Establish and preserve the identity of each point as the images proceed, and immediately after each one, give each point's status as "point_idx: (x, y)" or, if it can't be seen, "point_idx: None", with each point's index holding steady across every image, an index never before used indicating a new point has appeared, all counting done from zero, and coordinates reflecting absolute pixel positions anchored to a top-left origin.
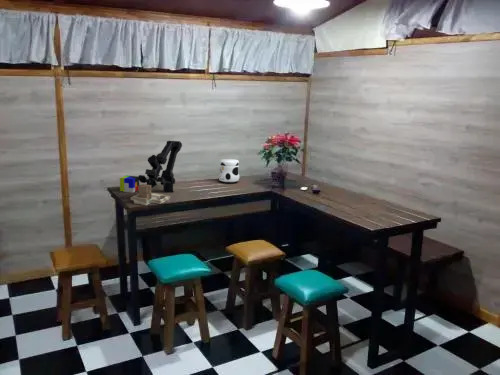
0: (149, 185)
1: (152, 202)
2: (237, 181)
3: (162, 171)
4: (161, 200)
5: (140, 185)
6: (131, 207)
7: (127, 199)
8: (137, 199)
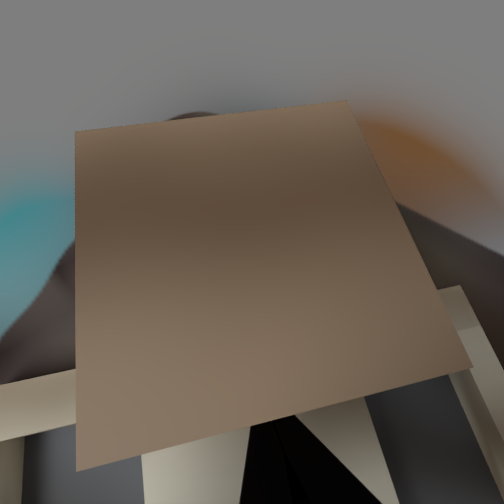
0: (130, 378)
1: None
2: None
3: None
4: None
5: (382, 184)
6: (205, 114)
7: (485, 297)
8: None
